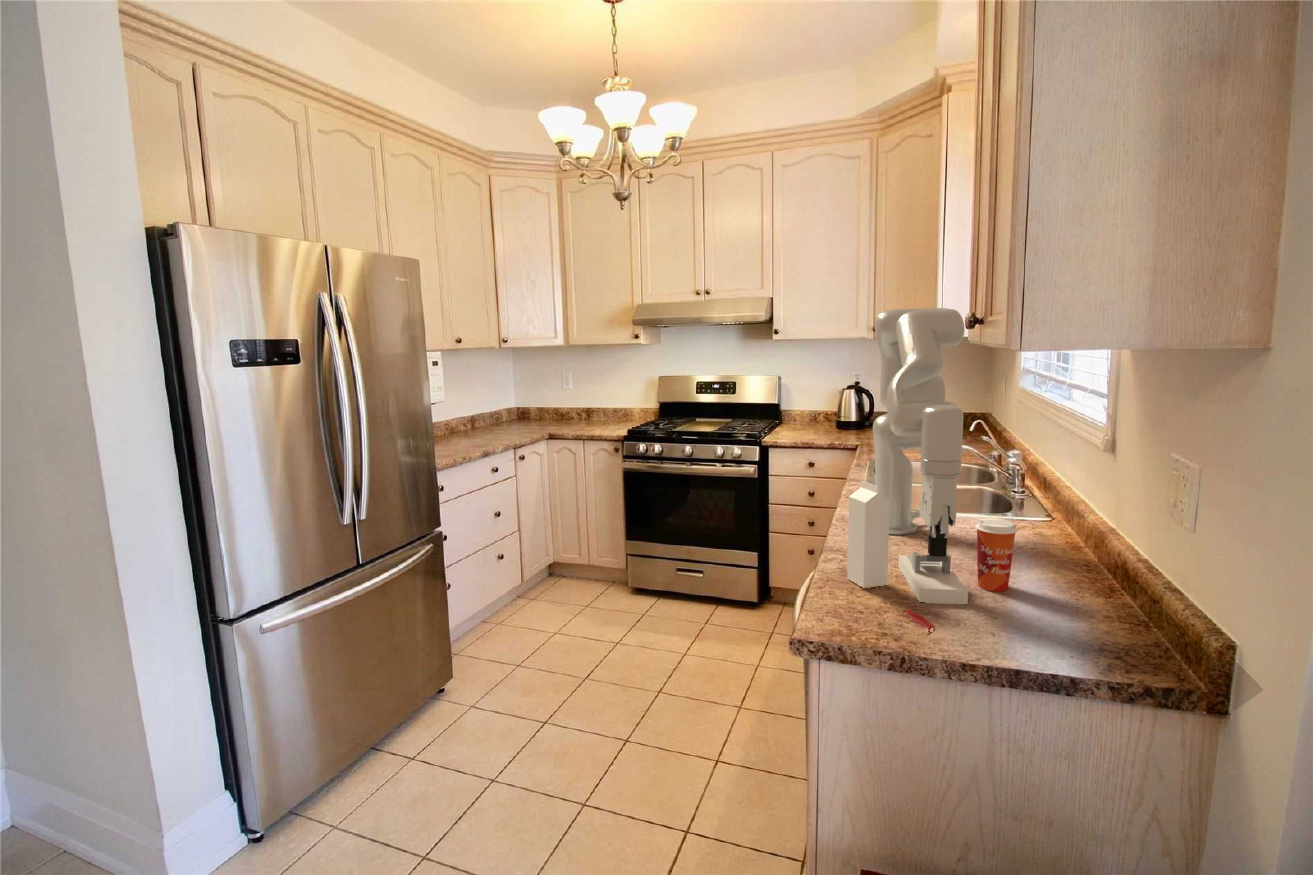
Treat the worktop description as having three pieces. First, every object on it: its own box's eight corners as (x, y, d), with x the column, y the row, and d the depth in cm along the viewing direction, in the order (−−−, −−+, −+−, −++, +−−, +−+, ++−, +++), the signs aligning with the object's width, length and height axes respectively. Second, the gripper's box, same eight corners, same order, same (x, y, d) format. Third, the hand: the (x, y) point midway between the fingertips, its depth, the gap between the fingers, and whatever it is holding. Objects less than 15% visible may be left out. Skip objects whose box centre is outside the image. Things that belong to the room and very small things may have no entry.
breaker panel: (898, 567, 150) (899, 539, 149) (939, 568, 148) (941, 540, 147) (919, 602, 130) (920, 570, 129) (967, 604, 129) (969, 571, 128)
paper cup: (977, 592, 134) (980, 526, 132) (968, 579, 142) (972, 516, 140) (1019, 595, 133) (1023, 528, 130) (1008, 581, 140) (1012, 518, 138)
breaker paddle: (916, 561, 143) (916, 555, 143) (935, 561, 142) (935, 555, 142) (926, 561, 134) (926, 554, 134) (947, 561, 133) (947, 555, 134)
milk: (870, 576, 145) (873, 479, 142) (887, 586, 139) (891, 484, 136) (846, 580, 143) (848, 481, 140) (863, 590, 137) (866, 487, 134)
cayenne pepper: (938, 639, 116) (938, 629, 115) (910, 637, 117) (911, 627, 116) (925, 611, 127) (926, 601, 127) (900, 609, 128) (900, 600, 128)
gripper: (912, 460, 139) (909, 543, 142) (930, 474, 125) (926, 567, 127) (949, 460, 138) (946, 544, 141) (972, 475, 123) (967, 568, 126)
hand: (936, 554), depth 134 cm, fingers closed
